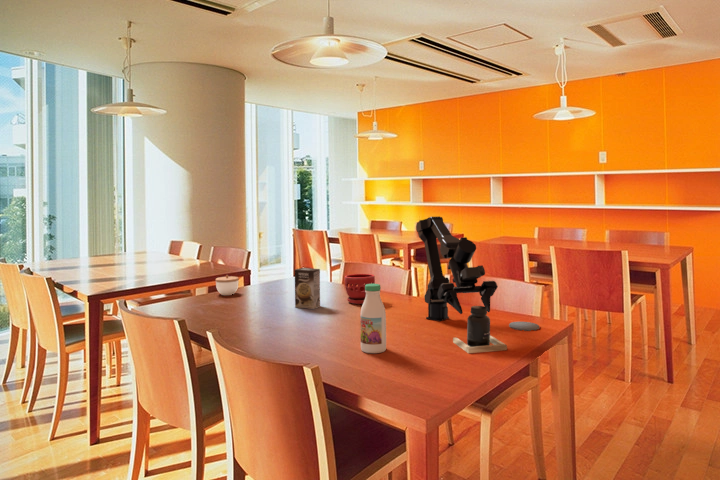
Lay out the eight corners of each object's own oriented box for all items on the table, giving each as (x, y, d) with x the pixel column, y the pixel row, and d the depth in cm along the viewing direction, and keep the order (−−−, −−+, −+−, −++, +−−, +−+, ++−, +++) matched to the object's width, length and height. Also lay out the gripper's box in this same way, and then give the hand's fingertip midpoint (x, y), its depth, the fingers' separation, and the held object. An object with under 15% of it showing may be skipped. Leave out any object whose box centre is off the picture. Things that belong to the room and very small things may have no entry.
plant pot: (380, 300, 217) (380, 274, 216) (364, 306, 206) (364, 278, 205) (355, 297, 224) (355, 271, 223) (339, 303, 213) (338, 276, 212)
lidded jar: (212, 296, 233) (211, 276, 232) (222, 291, 243) (221, 273, 242) (233, 296, 231) (232, 276, 230) (242, 292, 241) (241, 273, 240)
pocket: (453, 342, 155) (453, 337, 155) (489, 339, 157) (489, 334, 157) (468, 353, 144) (468, 348, 144) (506, 350, 146) (507, 345, 146)
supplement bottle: (490, 349, 147) (490, 310, 146) (467, 348, 149) (467, 309, 147) (489, 342, 154) (489, 305, 153) (466, 341, 155) (467, 304, 154)
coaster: (504, 327, 171) (504, 326, 171) (515, 321, 179) (515, 320, 178) (533, 332, 164) (533, 330, 164) (543, 326, 172) (543, 324, 172)
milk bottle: (369, 344, 154) (369, 281, 152) (391, 348, 149) (390, 283, 147) (355, 351, 147) (354, 285, 146) (377, 355, 143) (376, 287, 141)
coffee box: (294, 307, 206) (293, 269, 205) (302, 304, 212) (301, 267, 211) (313, 309, 203) (313, 270, 201) (321, 305, 209) (320, 268, 207)
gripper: (440, 258, 154) (454, 299, 144) (495, 255, 158) (512, 296, 148) (431, 279, 163) (444, 319, 153) (483, 276, 167) (499, 315, 157)
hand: (475, 312), depth 152 cm, fingers open, 9 cm apart
